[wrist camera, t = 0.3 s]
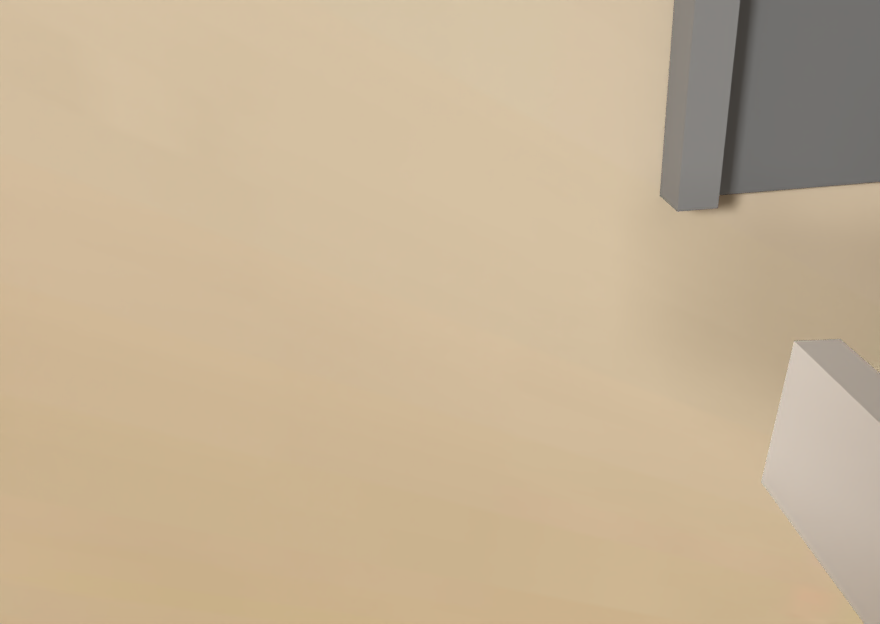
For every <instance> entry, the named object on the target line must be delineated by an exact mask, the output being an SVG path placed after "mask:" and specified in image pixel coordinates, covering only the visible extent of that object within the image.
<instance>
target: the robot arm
mask: <svg viewBox="0 0 880 624" xmlns="http://www.w3.org/2000/svg"><path fill="white" fill-rule="evenodd" d="M761 483H762V484H763V485H764V487H765V488H766V490H767V491H768V492H769V494H770V495H771V496H772V498H773V499H774V501H775V502H776V503H777V505H778V506H779V507H780V509H781V510H782V512H783V513H784V514H785V516H786V517H787V518H788V520H789V521H790V523H791V524H792V525H793V527H794V528H795V529H796V531H797V532H798V534H799V535H800V536H801V538H802V539H803V540H804V542H805V543H806V545H807V546H808V547H809V549H810V550H811V551H812V553H813V554H814V555H815V557H816V558H817V560H818V561H819V562H820V564H821V565H822V566H823V568H824V569H825V571H826V572H827V573H828V575H829V576H830V577H831V579H832V580H833V582H834V583H835V584H836V586H837V587H838V588H839V590H840V591H841V593H842V594H843V595H844V597H845V598H846V599H847V601H848V602H849V604H850V605H851V606H852V608H853V609H854V610H855V612H856V613H857V615H858V616H859V617H860V619H861V620H862V621H863V623H864V624H880V373H879V372H878V371H877V370H875V369H874V368H873V367H872V366H871V365H870V364H868V363H867V362H866V361H865V360H864V359H863V358H862V357H860V356H859V355H858V354H857V353H856V352H855V351H853V350H852V349H851V348H850V347H849V346H848V345H847V344H845V343H844V342H843V341H842V340H841V339H828V340H804V341H794V344H793V348H792V352H791V356H790V361H789V365H788V369H787V374H786V378H785V382H784V386H783V391H782V395H781V399H780V404H779V408H778V412H777V416H776V421H775V425H774V429H773V434H772V438H771V442H770V446H769V451H768V455H767V459H766V464H765V468H764V472H763V476H762V481H761Z"/></svg>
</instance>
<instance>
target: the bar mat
mask: <svg viewBox="0 0 880 624" xmlns="http://www.w3.org/2000/svg"><path fill="white" fill-rule="evenodd" d="M870 182H880V0H674V13H673V26H672V40H671V53H670V67H669V80H668V94H667V107H666V121H665V135H664V148H663V162H662V175H661V189H660V196H661V197H662V198H663V199H664V200H665V201H666V202H667V203H668V204H670V205H671V206H672V207H673V208H674V209H675V210H676V211H677V212H678V211H689V210H701V209H713V208H718V202H719V195H726V194H738V193H750V192H762V191H774V190H786V189H798V188H810V187H822V186H834V185H846V184H858V183H870Z"/></svg>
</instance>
